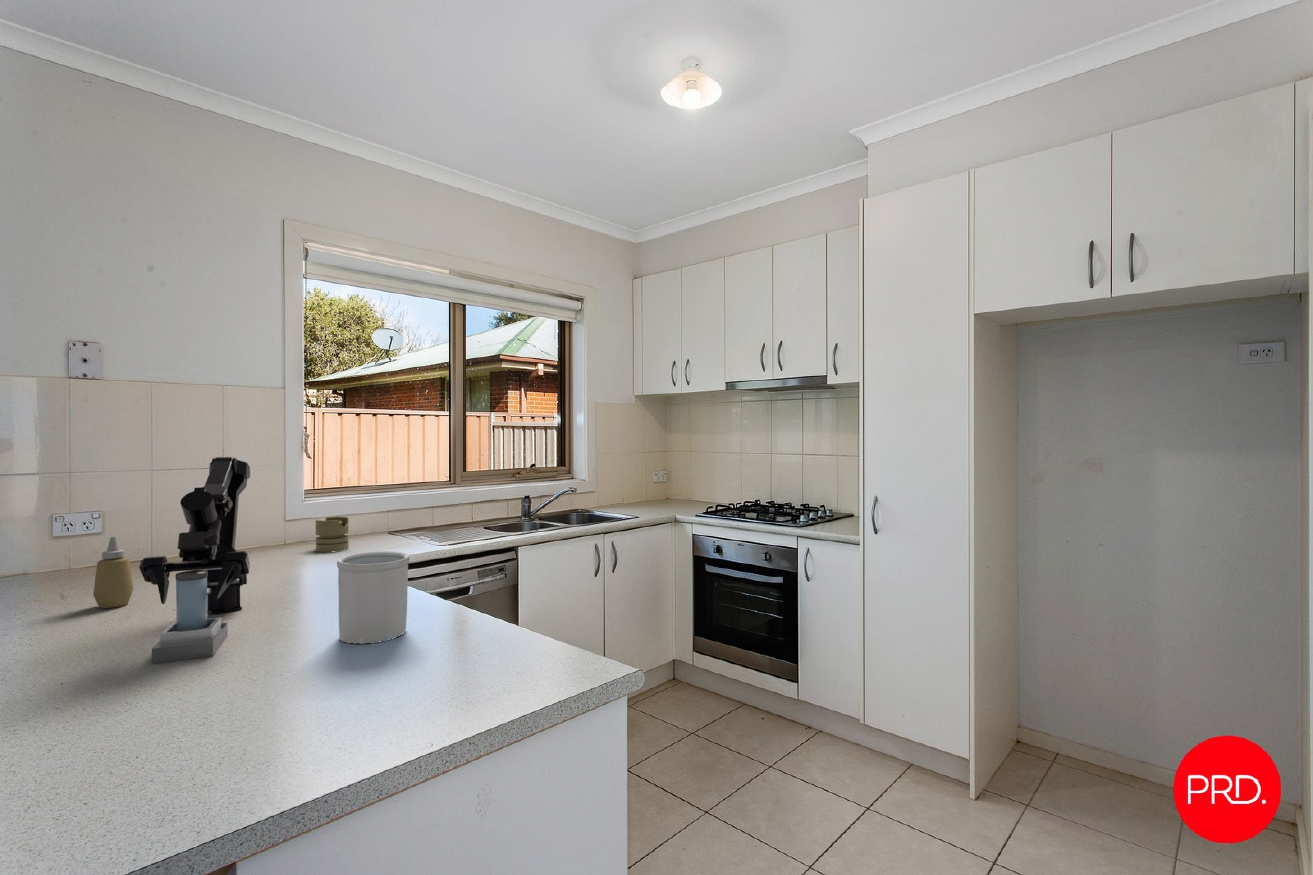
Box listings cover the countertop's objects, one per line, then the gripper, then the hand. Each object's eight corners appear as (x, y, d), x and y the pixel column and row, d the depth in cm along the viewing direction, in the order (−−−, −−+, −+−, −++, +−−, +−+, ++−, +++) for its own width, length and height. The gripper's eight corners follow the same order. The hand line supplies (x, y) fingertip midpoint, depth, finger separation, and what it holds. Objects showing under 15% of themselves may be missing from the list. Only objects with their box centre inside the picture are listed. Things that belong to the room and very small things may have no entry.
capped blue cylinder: (180, 632, 133) (179, 571, 133) (210, 629, 136) (210, 569, 135) (172, 640, 128) (172, 576, 128) (204, 636, 131) (204, 574, 131)
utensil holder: (423, 629, 145) (423, 553, 145) (370, 649, 132) (369, 566, 131) (377, 621, 151) (377, 548, 151) (321, 640, 138) (321, 560, 138)
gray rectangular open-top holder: (172, 642, 136) (172, 619, 136) (227, 636, 140) (227, 613, 140) (151, 663, 124) (151, 638, 123) (213, 656, 128) (212, 631, 128)
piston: (354, 517, 249) (335, 521, 237) (354, 547, 249) (335, 552, 238) (328, 516, 250) (308, 520, 239) (329, 546, 251) (308, 552, 239)
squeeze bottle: (141, 603, 168) (140, 535, 167) (106, 611, 160) (105, 540, 160) (120, 600, 170) (120, 534, 170) (85, 608, 163) (84, 538, 162)
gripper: (141, 519, 131) (123, 583, 121) (247, 514, 139) (237, 574, 129) (154, 550, 139) (137, 613, 129) (253, 544, 146) (245, 603, 136)
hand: (190, 600), depth 131 cm, fingers open, 9 cm apart
